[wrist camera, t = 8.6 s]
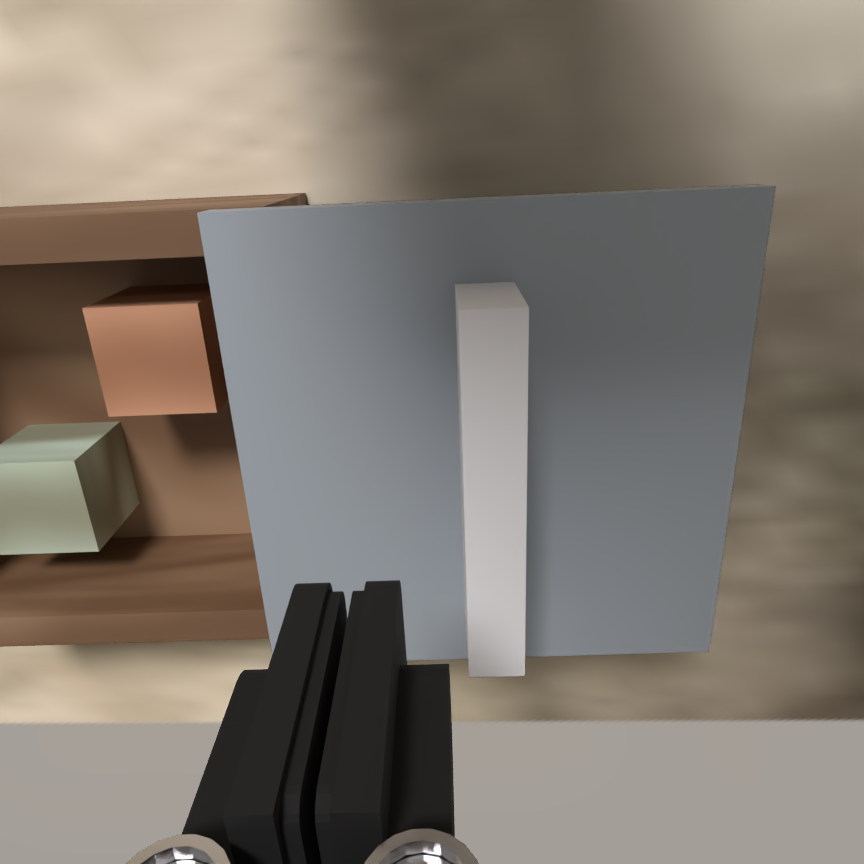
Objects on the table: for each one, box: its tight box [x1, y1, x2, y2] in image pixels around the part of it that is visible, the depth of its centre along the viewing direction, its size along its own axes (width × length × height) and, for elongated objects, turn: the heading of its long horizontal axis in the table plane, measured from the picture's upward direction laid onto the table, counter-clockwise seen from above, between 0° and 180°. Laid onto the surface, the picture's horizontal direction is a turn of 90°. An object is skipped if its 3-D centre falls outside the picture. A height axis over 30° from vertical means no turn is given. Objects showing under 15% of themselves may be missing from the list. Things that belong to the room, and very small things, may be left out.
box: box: [0, 193, 307, 647], centre depth 23 cm, size 14×14×6 cm
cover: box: [197, 184, 775, 677], centre depth 18 cm, size 14×14×4 cm
